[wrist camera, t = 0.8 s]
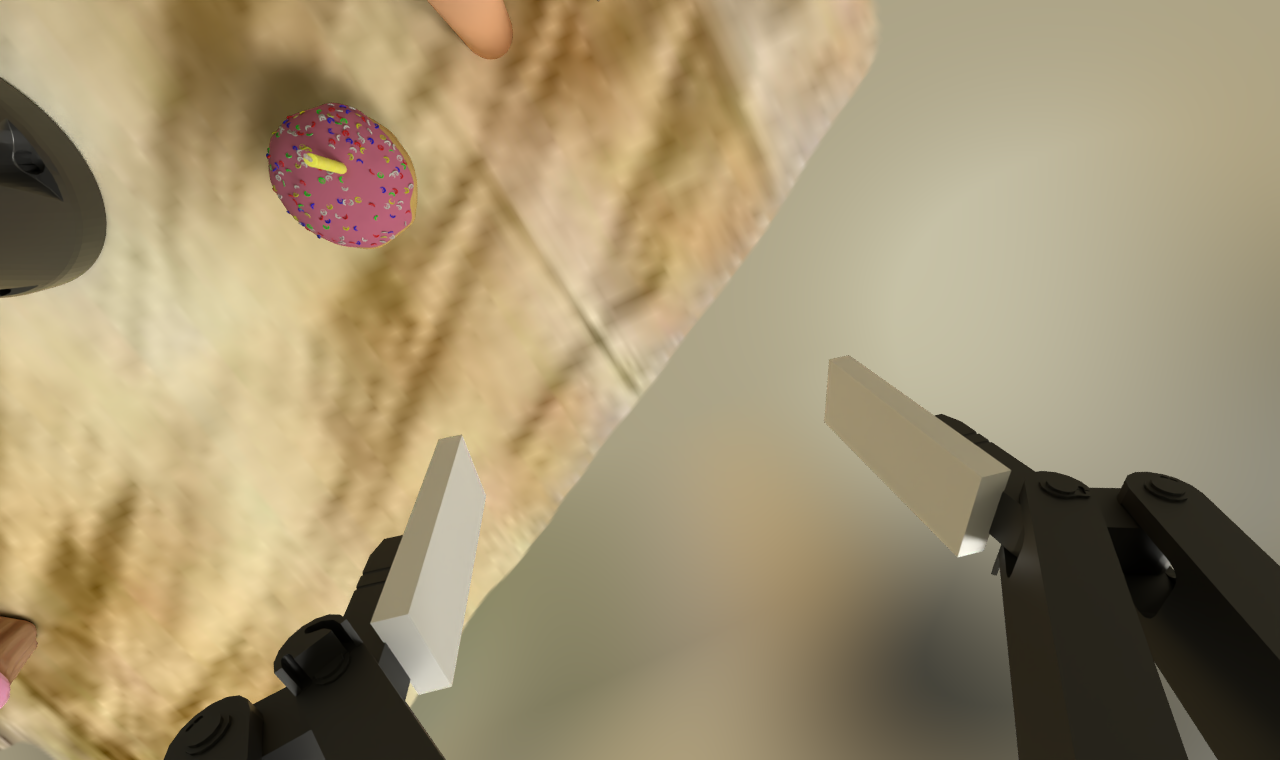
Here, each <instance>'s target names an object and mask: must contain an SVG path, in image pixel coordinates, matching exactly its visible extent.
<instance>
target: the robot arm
mask: <svg viewBox="0 0 1280 760" xmlns="http://www.w3.org/2000/svg"><path fill="white" fill-rule="evenodd" d="M105 236H106V213H105V207H104V203H103V199H102V196H101V193H100V190H99V188H98V185H97V183H96V181H95V179H94V176H93V174H92V172H91V171H90V169H89V167H88V165H87V164H86V162H85V160H84V159H83V157H82V156H81V154H80V153H79V152H78V150H77V149H76V147H75V146H74V145H73V143H72V142H71V141H70V140H69V138H68V137H67V136H66V135H65V134H64V133H63V131H62V130H61V129H60V128H59V127H58V126H57V125H56V124H55V123H54V122H53V121H52V120H51V119H50V118H49V117H48V116H47V115H46V114H45V113H44V112H43V111H42V110H41V109H40V108H39V107H37V106H36V105H35V104H34V103H33V102H31V101H30V100H29V99H28V98H27V97H25V96H24V95H23V94H21V93H20V92H19V91H18V90H16V89H15V88H13V87H12V86H10V85H9V84H8V83H6V82H5V81H3V80H2V79H0V298H5V297H14V296H21V295H26V294H30V293H34V292H38V291H42V290H45V289H49V288H53V287H56V286H59V285H63V284H65V283H68V282H70V281H72V280H74V279H76V278H78V277H79V276H81V275H82V274H84V273H85V272H86V271H87V270H88V269H89V268H90V267H91V266H92V265H93V264H94V263H95V261H96V260H97V258H98V256H99V255H100V253H101V250H102V248H103V245H104V241H105ZM824 422H825V423H826V424H827V425H828V426H829V427H830V428H831V429H832V430H833V431H834V432H835V433H836V434H837V435H838V436H839V437H840V439H841V440H842V441H844V443H845V444H846V445H847V446H848V447H849V448H850V449H851V450H852V451H853V452H854V453H855V454H856V455H857V456H858V457H859V458H860V459H861V460H862V461H863V462H864V463H865V464H866V465H867V466H868V467H869V468H870V469H871V470H872V471H873V472H874V473H875V474H876V475H877V476H878V477H879V478H880V479H881V480H882V481H883V482H884V483H885V484H886V485H887V486H888V487H889V488H890V489H891V490H892V491H893V492H894V493H895V494H896V495H897V496H898V497H899V498H900V499H901V500H902V501H903V502H904V503H905V505H907V507H908V508H910V510H911V511H912V512H913V513H914V514H915V515H916V516H917V517H918V518H919V519H920V520H921V521H922V522H923V523H924V524H925V525H926V526H927V527H928V528H929V529H930V530H931V531H932V532H933V533H934V534H935V535H936V536H937V537H938V538H939V539H940V540H941V541H942V542H943V543H944V544H945V545H946V546H947V547H948V548H949V549H950V550H951V551H952V552H953V553H954V554H955V555H956V556H957V557H961V556H965V555H969V554H972V553H977V552H981V551H984V549H985V546H986V543H987V540H988V537H989V534H990V535H992V536H993V537H994V538H995V539H996V540H997V541H998V542H999V543H1001V547H1000V550H999V553H998V555H997V558H996V561H995V563H994V566H993V569H992V573H991V574H993V575H997V573H998V570H999V569H1000V576H1001V584H1002V585H1001V586H1002V596H1003V606H1004V616H1005V626H1006V636H1007V646H1008V656H1009V666H1010V677H1011V686H1012V697H1013V707H1014V716H1015V727H1016V737H1017V747H1018V757H1019V760H1188V757H1187V754H1186V752H1185V749H1184V746H1183V743H1182V740H1181V737H1180V734H1179V732H1178V729H1177V726H1176V723H1175V720H1174V717H1173V714H1172V712H1171V709H1170V706H1169V703H1168V700H1167V697H1166V694H1165V692H1164V689H1163V686H1162V683H1161V680H1160V677H1159V674H1158V672H1157V669H1156V666H1155V663H1156V665H1157V667H1158V668H1159V670H1160V671H1161V673H1162V674H1163V676H1164V677H1165V679H1166V680H1167V682H1168V683H1169V685H1170V687H1171V688H1172V690H1173V691H1174V693H1175V694H1176V696H1177V697H1178V699H1179V700H1180V702H1181V703H1182V705H1183V707H1184V708H1185V710H1186V711H1187V713H1188V714H1189V716H1190V717H1191V719H1192V721H1193V722H1194V724H1195V725H1196V726H1197V728H1198V730H1199V731H1200V733H1201V734H1202V736H1203V737H1204V739H1205V741H1206V742H1207V744H1208V745H1209V747H1210V748H1211V750H1212V751H1213V753H1214V755H1215V756H1216V758H1217V759H1218V760H1280V566H1279V565H1278V564H1277V563H1276V562H1275V561H1274V560H1273V559H1272V558H1271V557H1270V556H1268V555H1267V554H1266V553H1265V552H1264V551H1263V550H1262V549H1261V548H1260V547H1259V546H1258V545H1257V544H1256V543H1255V542H1254V541H1253V540H1251V538H1249V537H1248V536H1247V535H1246V534H1245V533H1244V532H1243V531H1242V530H1241V529H1240V528H1239V527H1238V526H1237V525H1236V524H1235V523H1234V522H1232V521H1231V520H1230V519H1229V518H1228V517H1227V516H1226V515H1225V514H1224V513H1223V512H1222V511H1221V510H1220V509H1219V508H1218V507H1217V506H1216V505H1215V504H1214V503H1213V502H1211V501H1210V500H1209V499H1208V498H1207V497H1206V496H1205V495H1204V494H1203V493H1202V492H1200V491H1199V490H1197V489H1196V488H1194V487H1193V486H1191V485H1190V484H1187V483H1185V482H1183V481H1181V480H1179V479H1177V478H1173V477H1169V476H1167V475H1163V474H1158V473H1151V472H1135V473H1132V474H1130V475H1128V476H1127V478H1126V480H1125V481H1124V484H1123V485H1122V488H1089V487H1088V486H1086V485H1085V484H1083V483H1082V482H1080V481H1078V480H1076V479H1074V478H1072V477H1070V476H1067V475H1063V474H1060V473H1056V472H1047V471H1039V472H1035V471H1033V470H1032V469H1030V468H1029V467H1027V466H1026V465H1024V464H1023V463H1022V462H1020V461H1019V460H1017V459H1016V458H1014V457H1013V456H1011V455H1010V454H1008V453H1007V452H1005V451H1004V450H1002V449H1001V448H1000V447H998V446H997V445H995V444H994V443H992V442H989V441H988V439H986V438H984V437H983V436H982V435H980V434H977V433H976V431H974V430H973V429H971V428H970V427H968V426H967V425H966V424H964V423H963V422H961V421H959V420H956V419H953V418H951V417H948V416H946V415H943V414H939V415H935V416H934V415H933V414H931V413H930V412H928V411H926V410H925V409H924V408H923V407H921V406H920V405H918V404H917V403H916V402H914V401H913V400H911V399H910V398H909V397H907V396H906V395H904V394H903V393H902V392H900V391H899V390H897V389H896V388H894V387H893V386H892V385H890V384H889V383H887V382H886V381H885V380H883V379H882V378H880V377H879V376H878V375H876V374H875V373H873V372H872V371H871V370H869V369H868V368H866V367H865V366H863V365H862V364H861V363H859V362H858V361H856V360H855V359H854V358H852V357H851V356H849V355H848V356H843V357H838V358H834V359H830V360H829V369H828V381H827V394H826V407H825V419H824ZM485 499H486V494H485V492H484V489H483V487H482V484H481V482H480V479H479V477H478V474H477V471H476V469H475V466H474V464H473V461H472V459H471V456H470V454H469V451H468V448H467V446H466V443H465V441H464V438H463V436H462V435H458V436H453V437H448V438H443V439H439V440H438V443H437V446H436V448H435V451H434V454H433V456H432V459H431V462H430V464H429V467H428V470H427V472H426V475H425V478H424V480H423V483H422V486H421V489H420V491H419V494H418V497H417V499H416V502H415V505H414V507H413V510H412V513H411V515H410V518H409V521H408V523H407V526H406V529H405V531H404V534H403V535H401V536H396V537H392V538H387V539H384V540H383V541H382V542H381V543H380V545H379V546H378V547H377V548H376V549H375V550H374V552H373V553H372V554H371V555H370V557H369V559H368V561H367V564H366V566H365V568H364V570H363V576H361V577H360V580H359V582H358V584H357V587H356V588H357V590H355V591H354V593H353V596H352V598H351V600H350V603H349V605H348V607H347V609H346V612H345V614H344V616H343V617H342V616H341V615H331V614H329V615H326V616H323V617H319V618H316V619H314V620H313V621H311V622H309V623H308V624H306V625H304V626H302V627H301V628H300V629H299V630H298V631H296V632H295V633H294V634H293V635H292V636H291V637H289V638H288V640H287V641H286V642H285V644H284V645H283V646H282V647H281V649H280V650H279V652H278V654H277V656H276V659H275V661H274V674H275V675H276V676H277V677H278V678H279V679H280V680H281V681H282V682H283V683H284V684H285V685H286V687H285V688H283V689H281V690H280V691H278V692H276V693H274V694H272V695H270V696H268V697H266V698H264V699H262V700H260V701H258V702H256V703H255V704H252V703H251V702H250V701H249V700H248V699H246V698H244V697H242V696H240V695H239V696H231V697H226V698H224V699H222V700H219V701H217V702H215V703H213V704H211V705H210V706H208V707H207V708H205V709H204V710H202V711H201V712H200V713H198V714H197V715H195V716H194V717H193V718H192V719H191V720H190V721H189V722H188V723H187V724H186V725H185V726H184V727H183V728H182V729H181V730H180V732H179V733H178V734H177V736H176V737H175V738H174V740H173V741H172V743H171V744H170V745H169V748H168V750H167V753H166V755H165V758H164V760H446V759H445V758H444V756H443V755H442V753H441V752H440V751H439V749H438V748H437V746H436V745H435V743H434V742H433V740H432V739H431V738H430V736H429V735H428V733H427V732H426V730H425V729H424V727H423V726H422V725H421V723H420V722H419V720H418V719H417V717H416V716H415V715H414V713H413V712H412V710H411V709H410V707H409V706H408V704H407V703H406V702H405V699H406V695H407V691H408V687H409V683H411V684H412V685H413V687H414V688H415V690H416V691H417V693H418V694H419V695H420V694H424V693H428V692H432V691H436V690H440V689H444V688H448V687H451V686H452V683H453V677H454V672H455V666H456V661H457V655H458V649H459V644H460V638H461V633H462V627H463V622H464V616H465V611H466V605H467V600H468V594H469V588H470V583H471V577H472V572H473V566H474V561H475V555H476V549H477V544H478V538H479V533H480V527H481V522H482V516H483V510H484V505H485ZM1170 564H1171V565H1172V567H1173V568H1174V570H1173V569H1172V568H1171V567H1170ZM1154 662H1155V663H1154Z"/></svg>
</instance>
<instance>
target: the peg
mask: <svg viewBox="0 0 1280 760" xmlns="http://www.w3.org/2000/svg"><path fill="white" fill-rule="evenodd" d="M427 1H428V2H429V3H430V4H431V5H432V6H433V7H434V9H435V10H436V11H437V12H438V13H439V14H440V15H441V16H442V18H443V19H444V20H445V21H446V22H447V23H448V24H449V26H450V27H451V28H452V29H453V30H454V31H455V32H456V33H457V35H458V36H459V37H460V38H461V39H462V40H463V41H464V42H465V44H466V45H467V46H468V47H469V48H470V49H471V50H472V51H473V52H474V53H475V54H477V55H478V56H480V57H482V58H485V59H497V58H499V57H501V56H503V55H504V54H505V53H506V52H507V51H508V49H509V48H510V45H511V42H512V38H513V29H512V24H511V21H510V18H509V15H508V13H507V10H506V7H505V4H504V2H503V0H427Z"/></svg>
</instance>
